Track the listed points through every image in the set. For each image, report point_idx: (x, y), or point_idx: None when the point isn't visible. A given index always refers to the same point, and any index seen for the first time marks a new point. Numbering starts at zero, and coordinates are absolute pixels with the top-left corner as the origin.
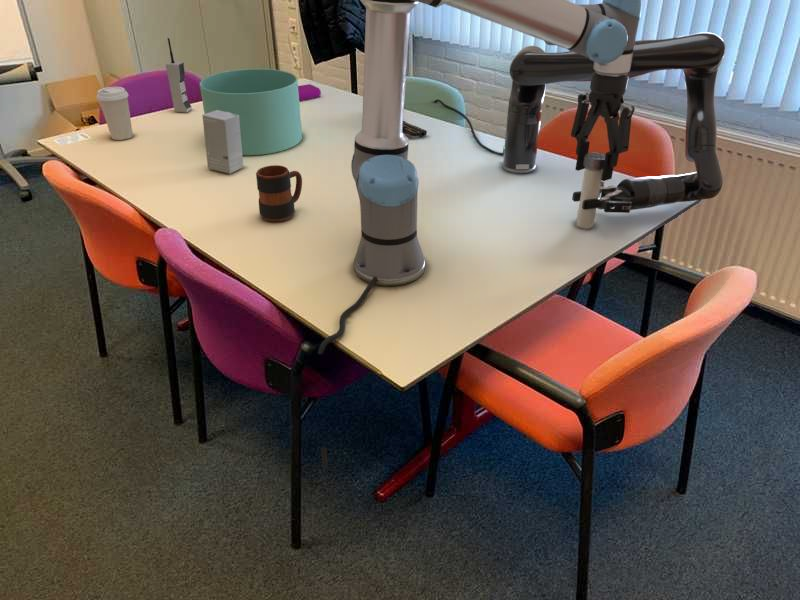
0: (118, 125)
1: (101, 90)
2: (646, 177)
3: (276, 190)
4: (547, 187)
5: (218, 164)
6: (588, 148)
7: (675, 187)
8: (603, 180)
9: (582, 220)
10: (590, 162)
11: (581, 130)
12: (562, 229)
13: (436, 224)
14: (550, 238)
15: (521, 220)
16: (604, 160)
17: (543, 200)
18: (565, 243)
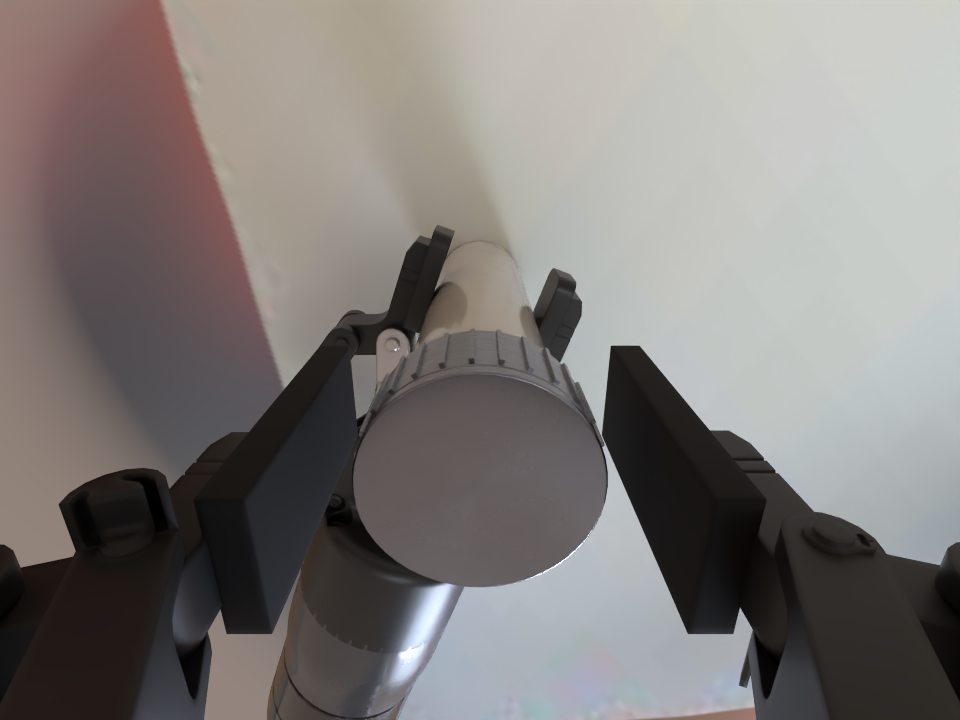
0: None
1: None
2: (370, 669)
3: None
4: (846, 444)
5: None
6: (657, 558)
7: (275, 699)
8: (323, 348)
9: (465, 251)
10: (450, 357)
11: (932, 702)
12: (512, 153)
13: None
14: (478, 7)
15: (727, 40)
16: (353, 476)
17: (781, 327)
18: (391, 34)
